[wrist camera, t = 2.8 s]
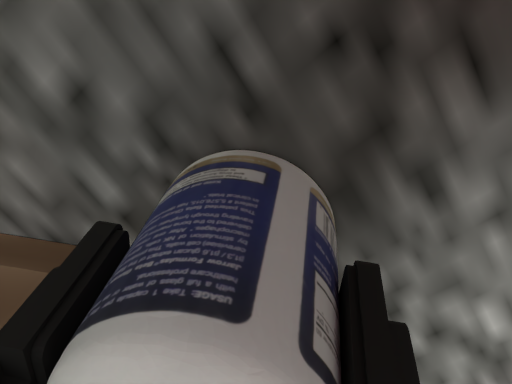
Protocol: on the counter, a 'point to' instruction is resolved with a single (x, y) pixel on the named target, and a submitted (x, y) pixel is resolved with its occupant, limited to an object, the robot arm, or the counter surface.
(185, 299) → the pill bottle
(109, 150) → the counter surface
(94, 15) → the counter surface
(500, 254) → the counter surface
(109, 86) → the counter surface
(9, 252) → the hub board
